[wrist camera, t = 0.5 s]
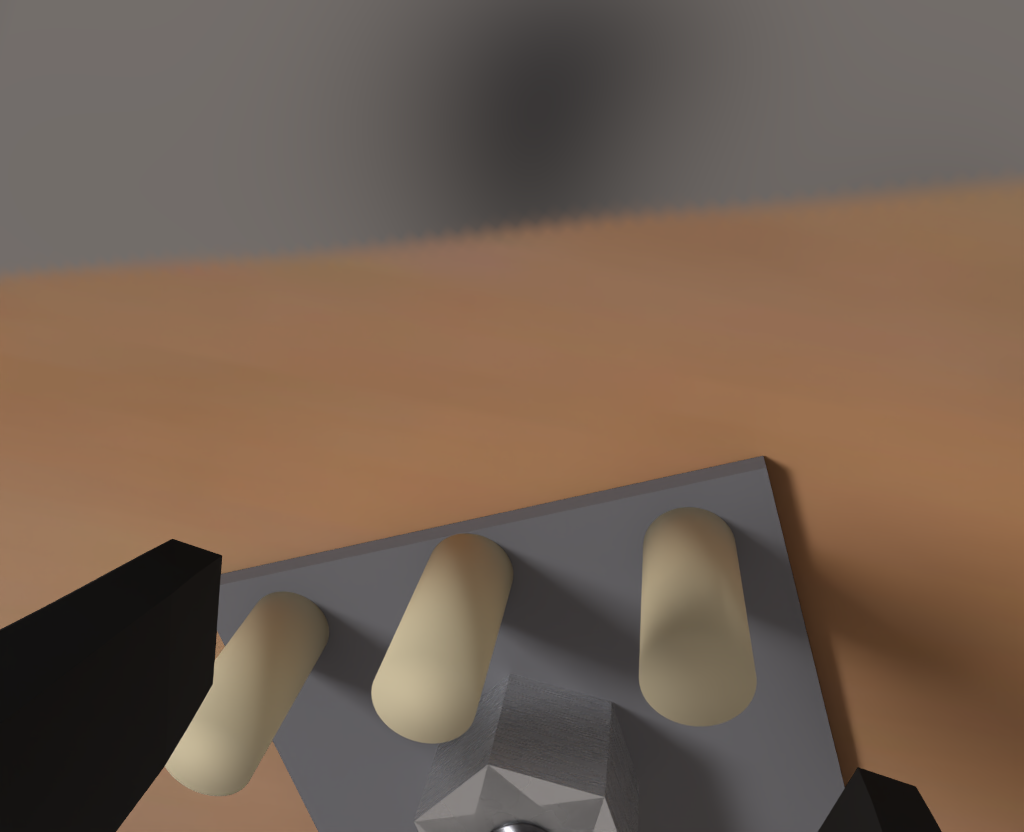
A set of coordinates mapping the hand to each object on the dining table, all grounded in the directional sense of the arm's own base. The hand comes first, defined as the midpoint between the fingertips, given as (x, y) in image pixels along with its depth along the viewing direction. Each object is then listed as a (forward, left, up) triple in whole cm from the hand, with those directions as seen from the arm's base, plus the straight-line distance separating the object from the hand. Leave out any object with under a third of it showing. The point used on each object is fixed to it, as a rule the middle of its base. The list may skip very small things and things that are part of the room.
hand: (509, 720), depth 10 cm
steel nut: (-4, -9, -10) cm, 14 cm away
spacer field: (-4, -9, -10) cm, 14 cm away
